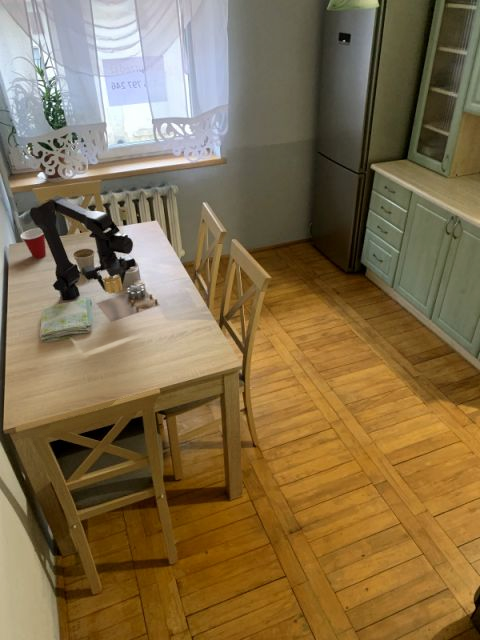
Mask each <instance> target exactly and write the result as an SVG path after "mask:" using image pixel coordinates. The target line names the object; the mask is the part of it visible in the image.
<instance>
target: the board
mask: <svg viewBox="0 0 480 640" xmlns="http://www.w3.org/2000/svg"><path fill="white" fill-rule="evenodd" d="M144 291H145V296H142V297H141V298H140V299H138V298H137V299H132V298H129V297H128V293H127V292H126V293H123V294H121V295H117V296H113V297H111V298H107V299H105V300H101V301H98V302H96V303H95V304H96V305H97V306H98V308H99V309H100V310H101V311H102V313H103V314H104V315H105V316H106V317H107V319H108V320H109V321H110V322H111V323H112V322H115V321H118V320H120V319H124V318H127V317H129V316H132V315H135V314H137V313H142V312H144V311H146V310H149V309H152V308H153V309H154V308H155V307H158V306H160V303H159V302H158V299H157V298H153V294H152V293H151V294H150V293H148V292H147V290H146V289H144Z"/></svg>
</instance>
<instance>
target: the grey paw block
mask: <svg viewBox="0 0 480 640" xmlns="http://www.w3.org/2000/svg"><path fill="white" fill-rule="evenodd" d="M135 262H136V266H134V267H130V269H129V270H127V271H126V273H125V277H124V282H123V284H122V288H126V287H131V286H133V285H134V282H136V281H138V280H139V281H142V280H141V279H142V278H141V273H140V267H139V264H138V262H137V261H135ZM118 275H119V274H118Z"/></svg>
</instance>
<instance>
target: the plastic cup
mask: <svg viewBox="0 0 480 640" xmlns="http://www.w3.org/2000/svg"><path fill="white" fill-rule="evenodd" d="M19 238H21V239H22V240H23V241H24V243H25V245H26V246H27V249H28V251H29V252H30V254H31V256H32V258H33V259H36V260H37V259H42V258H44V257H46V255H47V253H46V251H47V250H46V242H45V241H46V238H45V236H44V234H43V231H42V229H40V228H39V227H37V228H32V229H28V230H26V231H24V232H22V233H21V234H20V237H19Z"/></svg>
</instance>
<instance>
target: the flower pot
mask: <svg viewBox="0 0 480 640" xmlns="http://www.w3.org/2000/svg"><path fill="white" fill-rule="evenodd" d="M95 251H96V250H95V249H92V248H88V247H87V248H80V249H79V248H78V249H77V250H74V252H73V253H72V254H71V255H72V257H73V258H74V260H75V262H76V265H77V266H78V270H79V272H80V274H82V268H83V267H86V266H89V265H92V266H93V267H94V268H95Z"/></svg>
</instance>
